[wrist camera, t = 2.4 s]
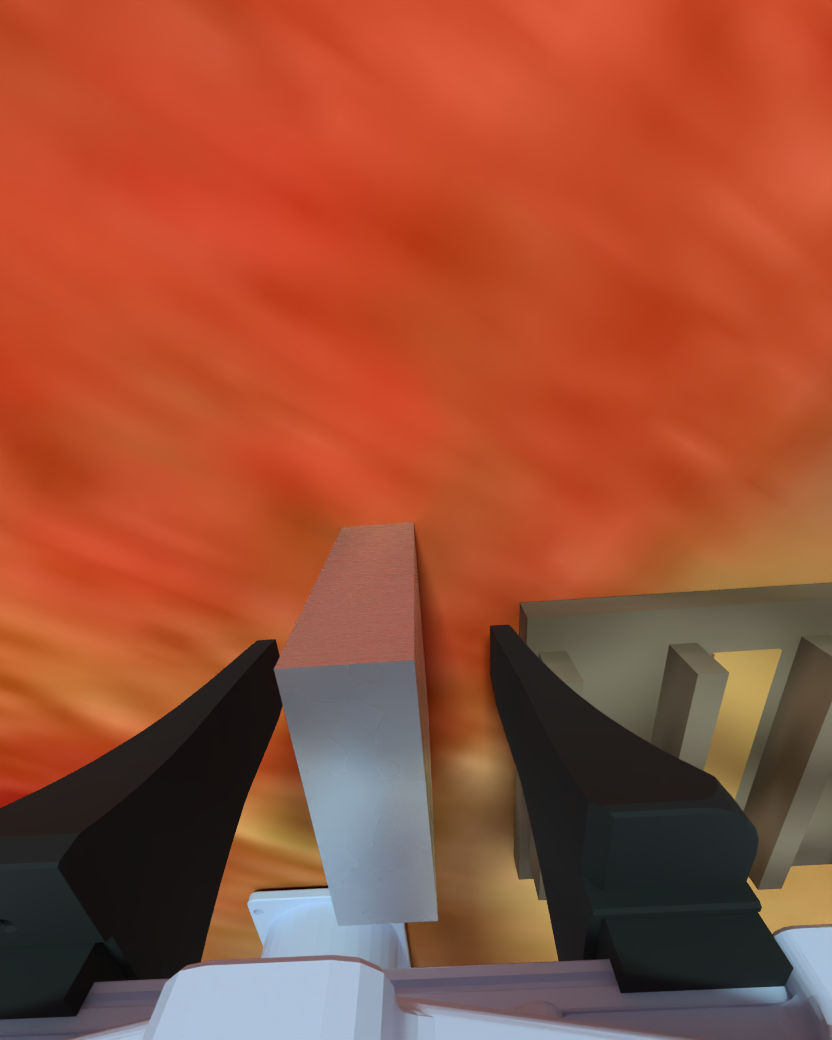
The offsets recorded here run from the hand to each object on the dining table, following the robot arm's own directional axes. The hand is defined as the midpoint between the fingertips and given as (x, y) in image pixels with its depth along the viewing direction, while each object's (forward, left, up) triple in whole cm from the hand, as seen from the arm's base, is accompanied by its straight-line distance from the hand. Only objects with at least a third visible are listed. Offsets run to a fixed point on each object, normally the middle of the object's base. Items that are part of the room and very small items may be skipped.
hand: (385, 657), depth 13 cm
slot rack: (-7, -13, -2) cm, 15 cm away
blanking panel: (0, 0, -2) cm, 2 cm away
